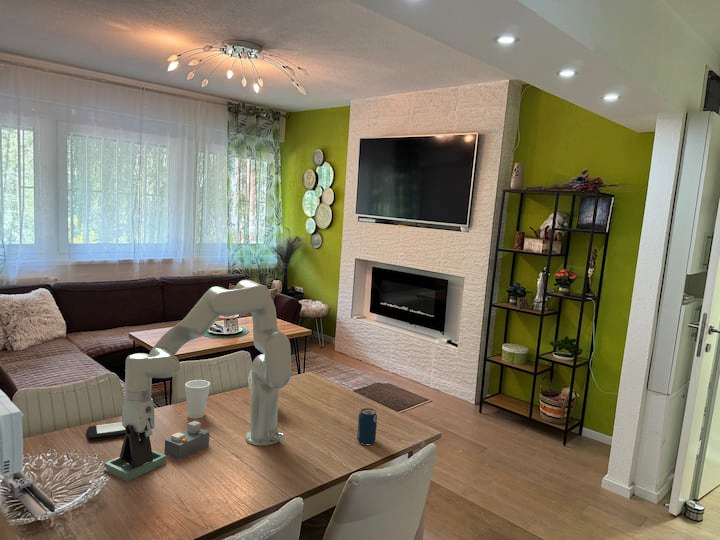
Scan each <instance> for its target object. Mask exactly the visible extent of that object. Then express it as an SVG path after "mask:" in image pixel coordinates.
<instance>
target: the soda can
mask: <svg viewBox="0 0 720 540" xmlns="http://www.w3.org/2000/svg"><path fill="white" fill-rule="evenodd" d="M357 419H358V421H357V422H358V423H357V435H356V440H357V441H359V442H360V443H363V444H372V443H373V444H374V443H375V441H376V436H377V423H378V415H377V411H376V410H375V409H373V408H362V409H361V410H360V412H359V414H358V418H357ZM359 442H358V443H359ZM360 443H359V444H360ZM373 444H372V445H373Z"/></svg>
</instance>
